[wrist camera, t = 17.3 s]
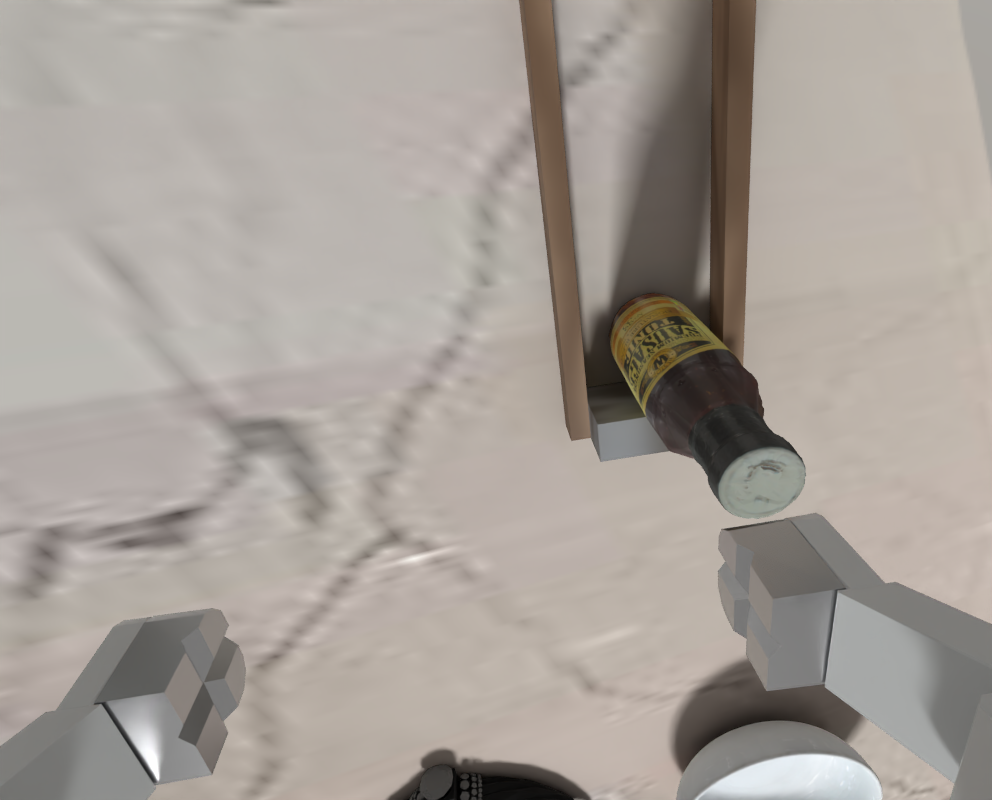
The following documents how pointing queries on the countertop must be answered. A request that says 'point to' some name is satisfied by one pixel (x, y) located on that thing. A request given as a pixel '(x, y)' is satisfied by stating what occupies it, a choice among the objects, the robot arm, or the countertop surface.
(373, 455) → the countertop surface
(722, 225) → the walnut track
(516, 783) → the ring
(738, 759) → the serving bowl
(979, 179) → the countertop surface
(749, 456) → the sauce bottle
